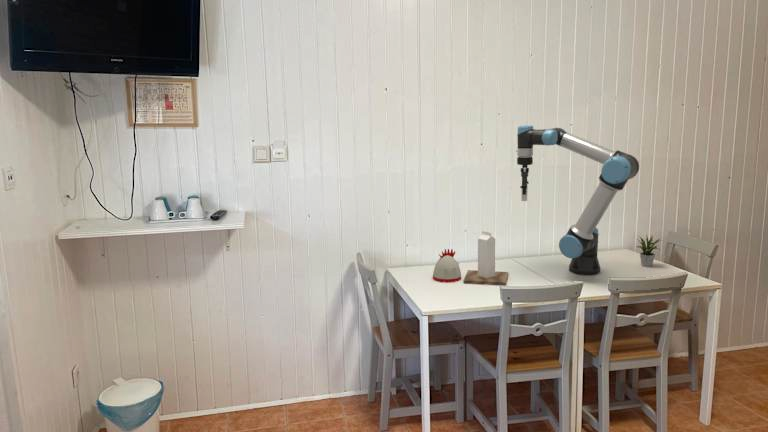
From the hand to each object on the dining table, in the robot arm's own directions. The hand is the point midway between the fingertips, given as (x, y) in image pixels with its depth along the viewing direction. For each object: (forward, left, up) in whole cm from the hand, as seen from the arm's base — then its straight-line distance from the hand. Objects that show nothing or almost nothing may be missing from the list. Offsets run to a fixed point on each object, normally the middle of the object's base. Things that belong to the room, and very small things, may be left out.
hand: (524, 198), depth 314 cm
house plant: (-62, -16, -37) cm, 74 cm away
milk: (+17, +21, -35) cm, 44 cm away
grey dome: (+36, +23, -37) cm, 56 cm away
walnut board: (+17, +21, -37) cm, 46 cm away
